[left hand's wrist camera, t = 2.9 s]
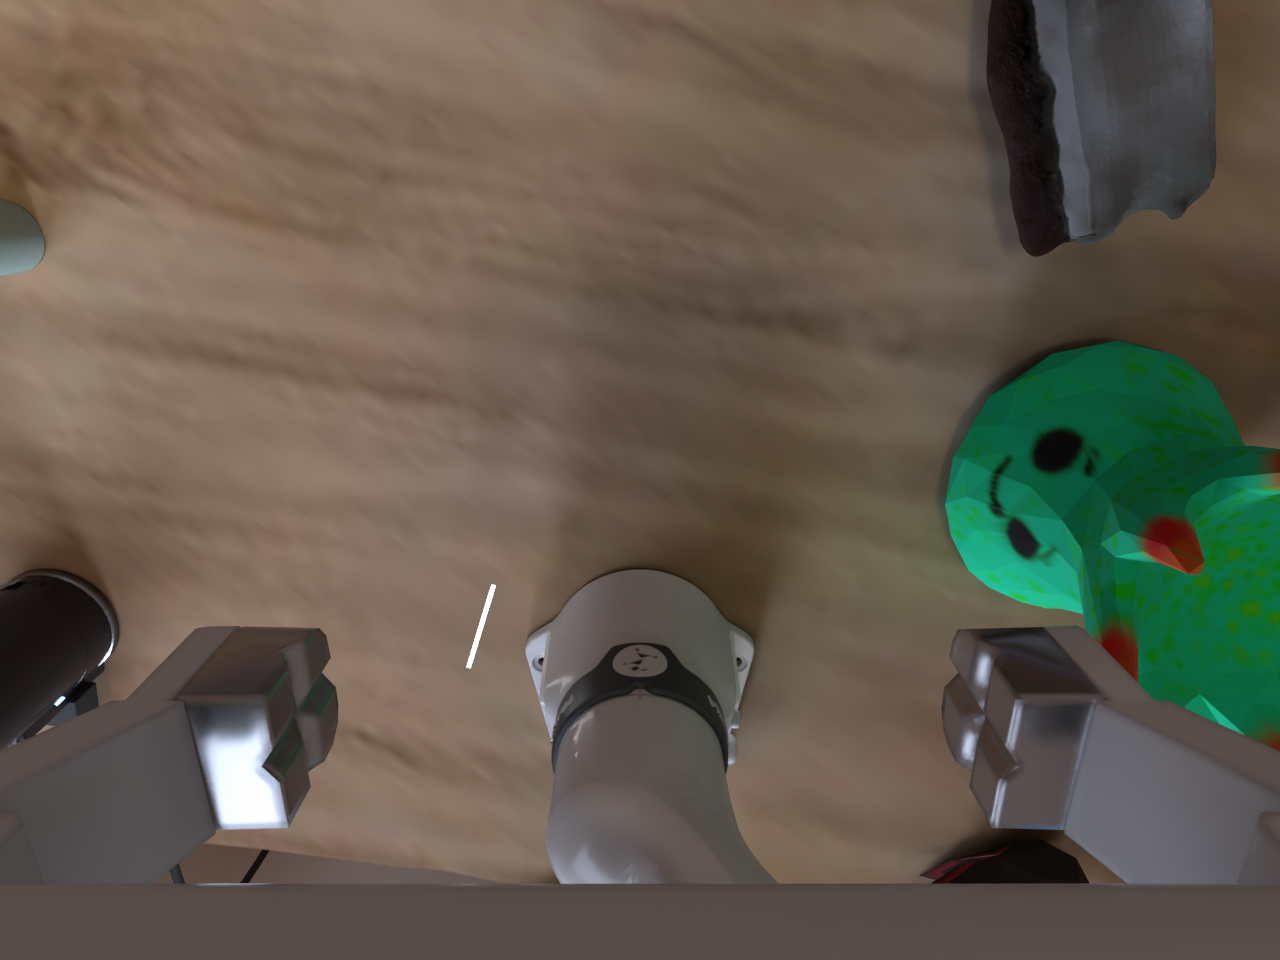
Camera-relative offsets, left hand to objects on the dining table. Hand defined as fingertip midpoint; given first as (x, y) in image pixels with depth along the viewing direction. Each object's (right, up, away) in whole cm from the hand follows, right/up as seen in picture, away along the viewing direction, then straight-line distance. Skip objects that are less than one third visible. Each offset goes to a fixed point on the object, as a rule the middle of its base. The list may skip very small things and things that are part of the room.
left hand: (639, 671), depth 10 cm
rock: (+27, +27, +41) cm, 56 cm away
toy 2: (+33, +3, +50) cm, 60 cm away
